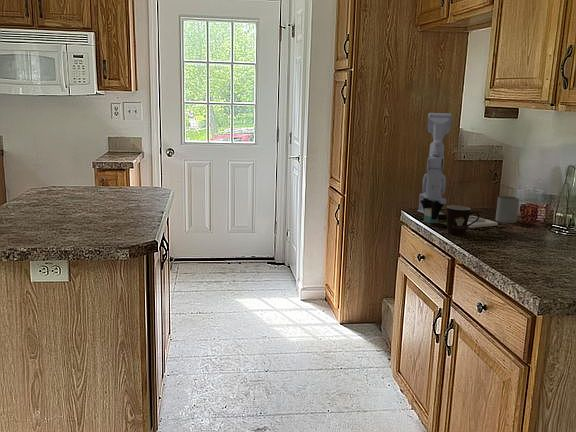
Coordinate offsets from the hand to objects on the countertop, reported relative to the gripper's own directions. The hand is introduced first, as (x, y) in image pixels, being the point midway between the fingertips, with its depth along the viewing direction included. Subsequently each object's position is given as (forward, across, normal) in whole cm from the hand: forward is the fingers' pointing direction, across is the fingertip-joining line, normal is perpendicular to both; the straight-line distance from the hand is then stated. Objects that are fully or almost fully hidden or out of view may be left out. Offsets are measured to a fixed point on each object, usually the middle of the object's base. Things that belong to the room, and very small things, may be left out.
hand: (430, 218), depth 233 cm
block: (+2, 0, 0) cm, 2 cm away
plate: (+2, +7, +16) cm, 18 cm away
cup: (+2, +8, +34) cm, 35 cm away
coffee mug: (+2, +21, -3) cm, 21 cm away
